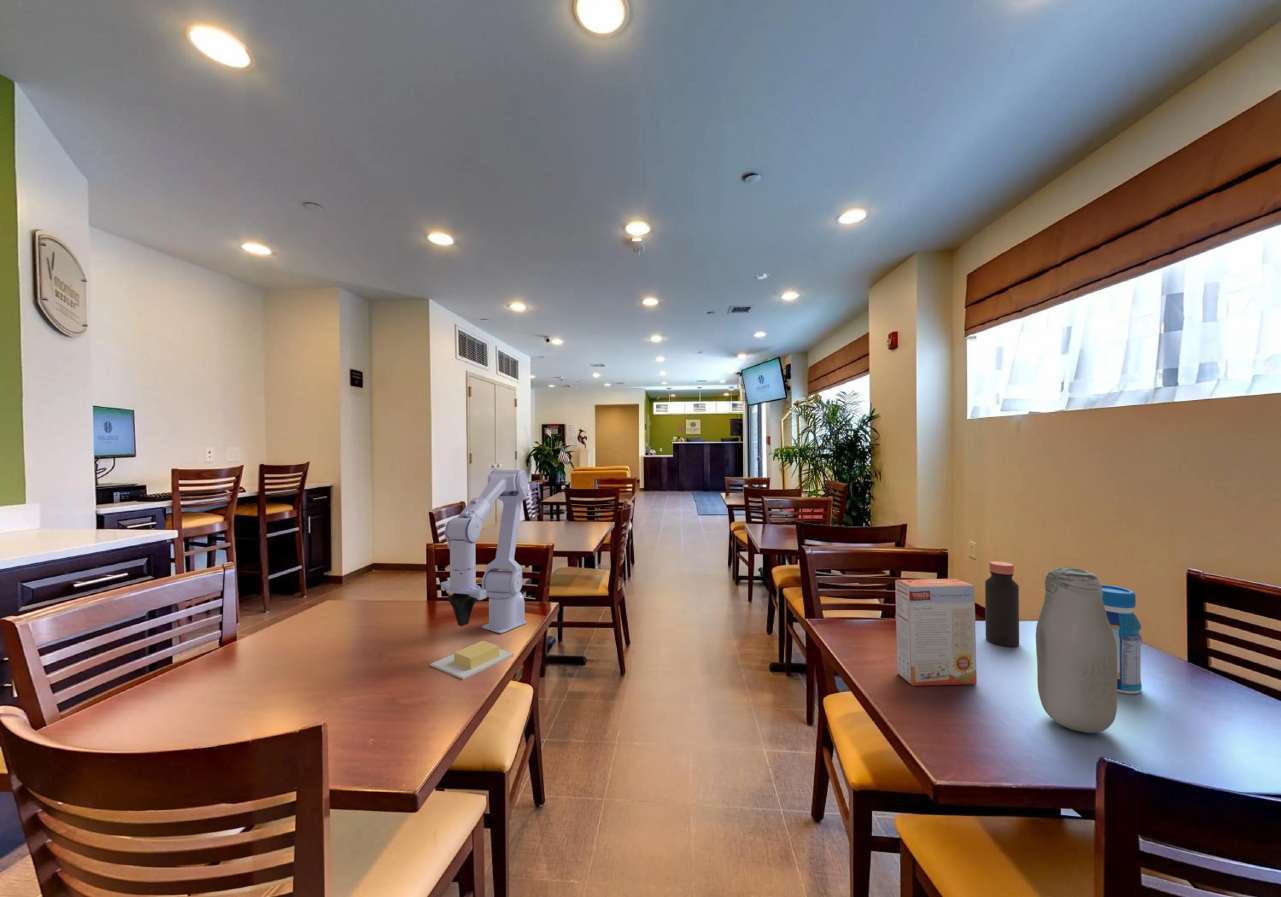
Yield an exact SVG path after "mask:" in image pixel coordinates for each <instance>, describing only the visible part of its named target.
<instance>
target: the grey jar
mask: <svg viewBox="0 0 1281 897" xmlns="http://www.w3.org/2000/svg"><path fill="white" fill-rule="evenodd" d="M1044 579H1045V580H1044V588H1045V591H1044V598H1043V599H1044V601H1043V604H1042V606H1041V609H1040V612H1039V615H1038V616H1039V617H1038V620H1037V623H1036V628H1035V649H1036V650H1035V651H1036V664H1037V668H1036V670H1037V672H1036V673H1037V678H1036V679H1037V682H1036V683H1037V692H1038V695H1039V700H1040V703H1041V705H1042V708H1043V710H1044V712H1045V713H1046V715H1048V716H1049V717H1050V719H1052V720H1053V721H1054V722H1056V724H1059V725H1061V726H1062V727H1065V728H1066V729H1069V730H1073V731H1076V732H1081V733H1086V734H1096V733H1102V732H1104V731H1105V730H1107V729H1109V728H1110V727H1111V726H1112V725H1113V723H1114V722H1115V719H1116V716H1117V711H1118V692H1117V645H1116V641H1115V637H1114V634H1113V631H1112V628H1111V626H1110V623H1109V621H1108V618H1107V615H1106V611H1105V607H1104V603H1103V600H1102V596H1103V590H1102V586H1101V585H1102V583H1101V582H1100V579H1099V577H1098V576H1097V575H1096V574H1094V573H1093V572H1091V571H1089V570H1085V569H1082V568H1077V567H1069V566H1068V567H1066V566H1064V567H1063V566H1062V567H1057V568H1053V569H1051V570H1050V571H1049V572H1048V573H1047V574H1046V577H1045V578H1044Z"/></svg>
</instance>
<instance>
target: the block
mask: <svg viewBox="0 0 1281 897" xmlns="http://www.w3.org/2000/svg"><path fill="white" fill-rule="evenodd" d="M500 647H501V646H500V645H498V644H495V643H492V642H488V641H485V640H481V641H479V642H476V643H474V644H470V645H469V646H467V647H464V648H462V649H459V650H457V651H455V652H454V653H453V654H454V663H456V664H458V665H461V666H463V667H466V668H468V669H473V668H475V667H477V666H480V665H482V664H484V663H486V662H488V661H490V660H493V659H495V658H497V657H499V656H500V649H501V648H500Z"/></svg>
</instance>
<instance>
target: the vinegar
mask: <svg viewBox="0 0 1281 897" xmlns="http://www.w3.org/2000/svg"><path fill="white" fill-rule="evenodd" d="M988 564H989V573H990V576H989V577H988V578H987V579H986V580H985V582H984V596H985V597H984V598H985V600H984V602H985V603H984V607H985V610H984V612H985V614H984V615H985V622H984V624H985V639H986V640H987V641H988V642H990V643H991V644H994V645H997V646H1002V647H1005V648H1006V647H1009V648H1016V647H1018V646H1019V645H1020V591H1019V590H1020V586H1019V584H1018V583H1017V582H1016V581H1015V580H1014V579H1013V576H1014V574H1015V565H1014V564H1013V563H1010V562H1006V561H990V562H989V563H988Z"/></svg>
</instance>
